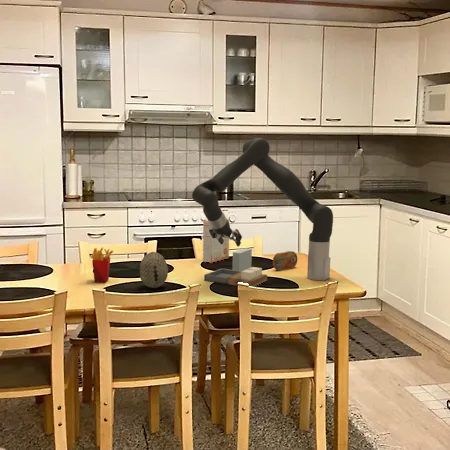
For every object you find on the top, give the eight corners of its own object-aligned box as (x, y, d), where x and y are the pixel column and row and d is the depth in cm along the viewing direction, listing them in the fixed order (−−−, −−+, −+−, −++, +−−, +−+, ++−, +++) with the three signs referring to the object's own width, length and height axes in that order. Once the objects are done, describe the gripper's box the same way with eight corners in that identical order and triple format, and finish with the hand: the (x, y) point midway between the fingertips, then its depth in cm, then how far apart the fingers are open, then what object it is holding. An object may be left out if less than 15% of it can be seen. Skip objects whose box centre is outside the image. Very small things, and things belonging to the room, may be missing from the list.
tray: (242, 277, 276) (243, 271, 275) (226, 284, 263) (226, 278, 263) (221, 273, 281) (221, 268, 281) (204, 280, 268) (204, 274, 268)
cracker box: (220, 257, 316) (221, 217, 313) (229, 259, 312) (230, 218, 309) (202, 261, 305) (202, 220, 302) (211, 263, 302) (212, 221, 298)
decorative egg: (170, 290, 251) (170, 254, 248) (141, 292, 247) (141, 255, 245) (164, 283, 262) (165, 248, 259) (137, 284, 258) (137, 249, 256)
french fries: (95, 279, 266) (95, 245, 264) (114, 279, 266) (114, 245, 263) (90, 284, 257) (90, 249, 255) (110, 284, 257) (110, 249, 255)
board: (266, 281, 269) (267, 274, 269) (252, 288, 257) (252, 281, 257) (242, 277, 275) (243, 271, 275) (227, 284, 263) (227, 277, 263)
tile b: (255, 277, 263) (255, 270, 263) (250, 279, 259) (250, 272, 259) (246, 276, 265) (246, 269, 265) (241, 278, 261) (241, 271, 261)
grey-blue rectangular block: (251, 269, 291) (251, 249, 290) (238, 274, 281) (239, 253, 279) (244, 268, 293) (245, 248, 291) (232, 273, 283) (232, 252, 281)
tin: (275, 271, 288) (276, 254, 287) (271, 270, 291) (271, 253, 289) (297, 267, 298) (298, 250, 297) (292, 266, 301) (293, 249, 299)
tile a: (261, 275, 268) (262, 268, 268) (257, 277, 264) (257, 270, 264) (252, 273, 270) (252, 266, 270) (247, 275, 267) (248, 268, 266)
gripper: (235, 216, 262) (247, 238, 273) (207, 213, 269) (220, 235, 280) (229, 230, 258) (241, 252, 269) (200, 226, 265) (213, 248, 276)
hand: (230, 243), depth 275 cm, fingers open, 8 cm apart
